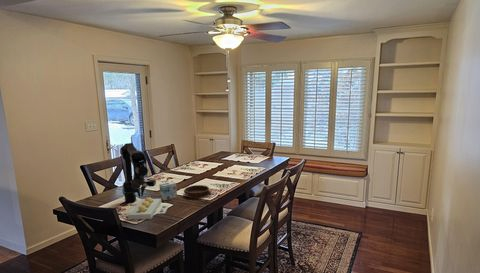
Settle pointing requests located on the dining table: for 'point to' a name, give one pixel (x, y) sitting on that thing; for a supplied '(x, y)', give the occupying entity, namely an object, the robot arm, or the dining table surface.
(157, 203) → the board
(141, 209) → the button
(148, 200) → the button
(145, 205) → the button
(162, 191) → the light bulb box
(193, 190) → the dish
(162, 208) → the card
